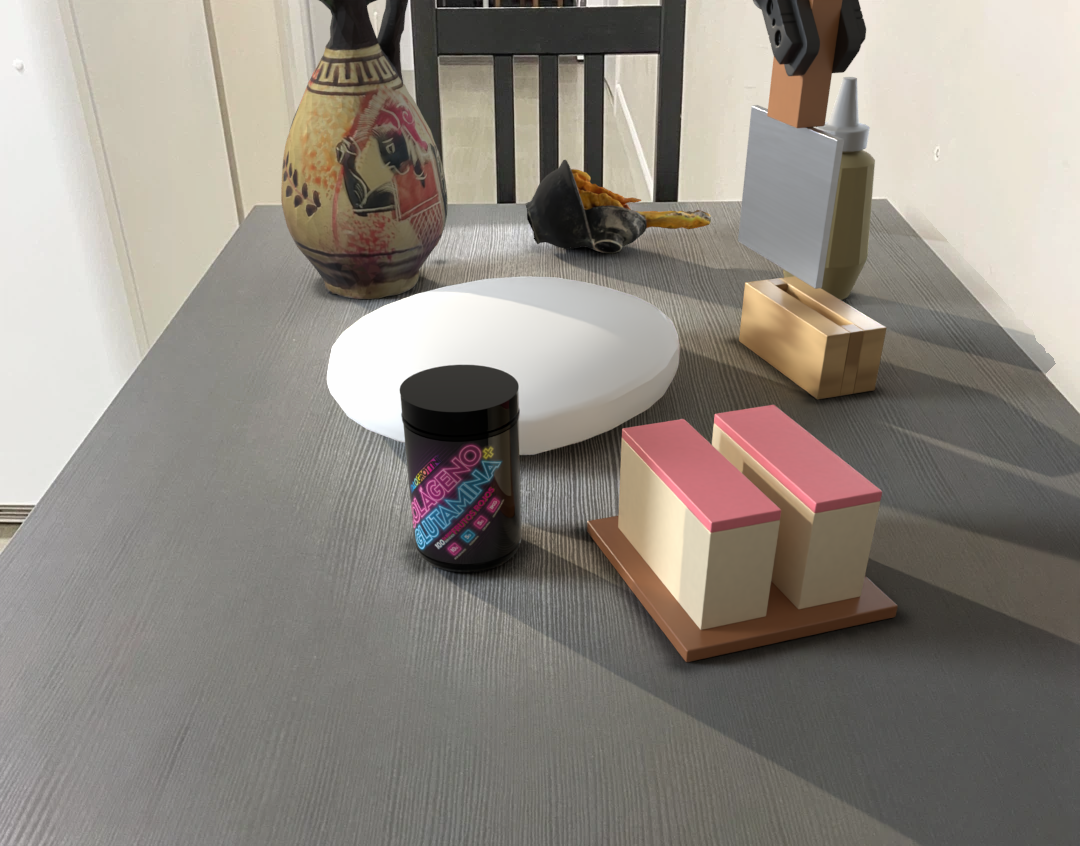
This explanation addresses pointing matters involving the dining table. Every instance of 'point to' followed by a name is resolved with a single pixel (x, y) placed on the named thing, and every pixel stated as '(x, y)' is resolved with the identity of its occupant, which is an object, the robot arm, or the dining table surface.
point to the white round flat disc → (514, 354)
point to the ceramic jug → (363, 162)
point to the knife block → (811, 337)
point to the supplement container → (463, 465)
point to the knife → (794, 163)
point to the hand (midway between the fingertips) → (825, 61)
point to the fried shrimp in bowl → (594, 214)
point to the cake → (742, 533)
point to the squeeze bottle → (848, 195)
